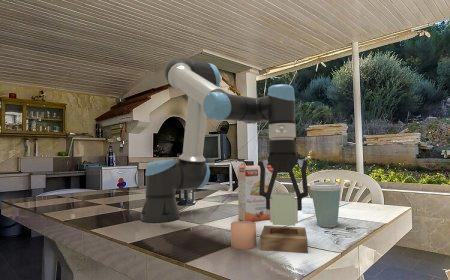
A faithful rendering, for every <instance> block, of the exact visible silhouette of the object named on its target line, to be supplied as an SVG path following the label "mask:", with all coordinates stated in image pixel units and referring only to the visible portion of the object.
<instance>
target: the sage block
mask: <svg viewBox="0 0 450 280" xmlns="http://www.w3.org/2000/svg"><path fill="white" fill-rule="evenodd" d="M295 195H296V194H295V192H275V193H273V194H272V216H273V222H272V226H287V227H296V223H295V198H296V197H295Z"/></svg>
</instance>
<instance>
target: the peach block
mask: <svg viewBox="0 0 450 280" xmlns="http://www.w3.org/2000/svg"><path fill="white" fill-rule="evenodd" d="M230 247H231V248H234V249H236V250H252V249H254V248H256V247H257V223H256V222H255V221H242V220H237V221H236V220H235V221H232V222H231V223H230Z"/></svg>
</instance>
